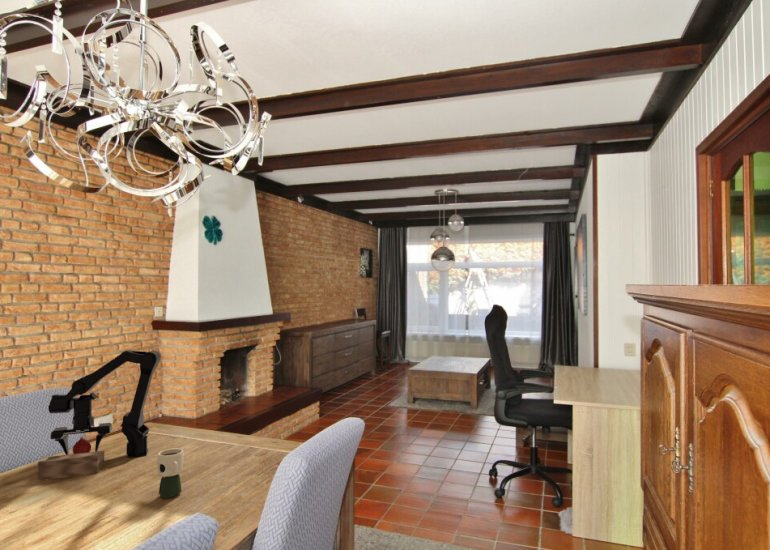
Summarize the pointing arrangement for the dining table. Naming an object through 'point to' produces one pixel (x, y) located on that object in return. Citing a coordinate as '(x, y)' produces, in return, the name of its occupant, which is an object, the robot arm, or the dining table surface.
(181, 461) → the character mug
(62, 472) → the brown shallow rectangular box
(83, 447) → the onion
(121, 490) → the dining table surface
